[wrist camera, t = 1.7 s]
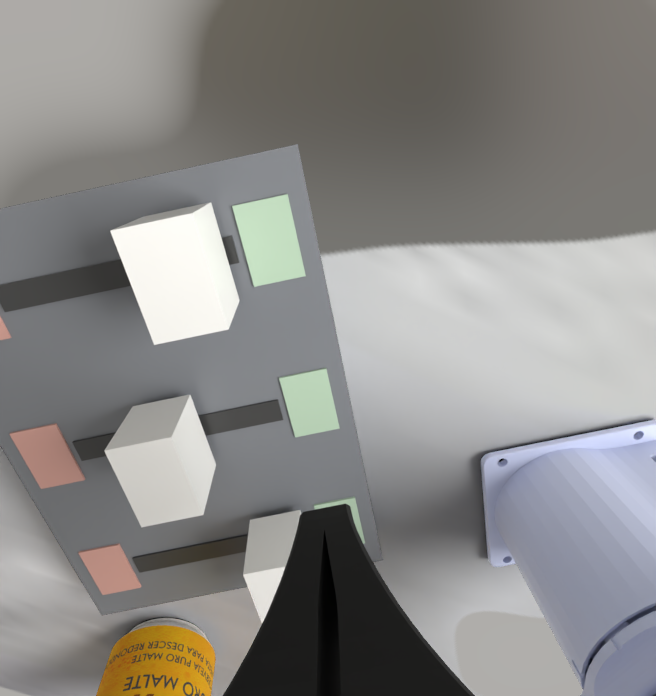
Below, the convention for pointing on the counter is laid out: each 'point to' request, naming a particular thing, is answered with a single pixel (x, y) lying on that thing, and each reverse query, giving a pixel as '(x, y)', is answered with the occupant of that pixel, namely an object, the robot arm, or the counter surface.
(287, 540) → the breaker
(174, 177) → the breaker board
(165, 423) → the block
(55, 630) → the counter surface
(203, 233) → the block
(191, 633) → the yellow and white cylinder
